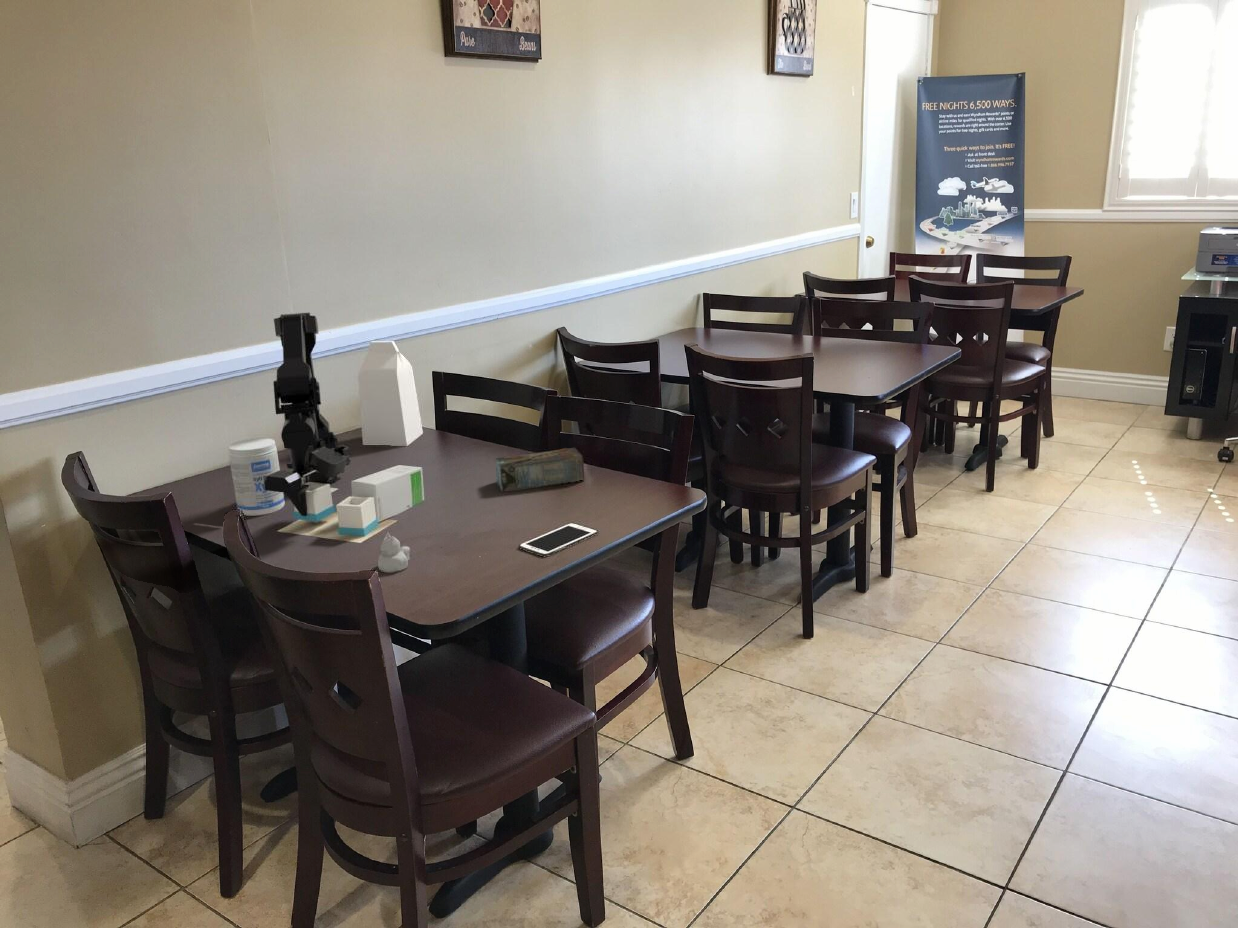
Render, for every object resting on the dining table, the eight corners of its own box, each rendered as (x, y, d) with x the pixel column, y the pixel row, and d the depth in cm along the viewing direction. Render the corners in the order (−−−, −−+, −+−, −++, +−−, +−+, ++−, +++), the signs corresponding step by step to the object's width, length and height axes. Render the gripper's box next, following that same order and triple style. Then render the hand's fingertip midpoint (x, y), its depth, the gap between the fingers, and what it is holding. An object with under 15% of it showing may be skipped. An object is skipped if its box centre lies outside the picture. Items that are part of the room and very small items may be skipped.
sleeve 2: (338, 534, 185) (334, 505, 183) (353, 523, 190) (349, 495, 188) (364, 536, 184) (361, 507, 182) (378, 525, 189) (375, 497, 187)
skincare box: (425, 503, 203) (379, 525, 189) (399, 500, 205) (352, 521, 192) (422, 465, 201) (375, 484, 187) (396, 462, 203) (348, 481, 190)
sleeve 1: (294, 518, 190) (289, 490, 188) (313, 509, 195) (308, 481, 193) (316, 521, 188) (312, 493, 186) (335, 511, 193) (331, 483, 191)
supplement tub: (266, 519, 198) (255, 451, 193) (228, 516, 200) (216, 449, 196) (294, 503, 206) (284, 438, 202) (258, 500, 209) (247, 436, 205)
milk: (363, 445, 247) (350, 346, 239) (380, 433, 258) (369, 337, 249) (407, 446, 245) (395, 345, 237) (423, 433, 256) (412, 337, 247)
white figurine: (371, 574, 169) (366, 532, 167) (400, 561, 174) (395, 520, 171) (391, 581, 166) (386, 538, 163) (420, 568, 171) (415, 526, 168)
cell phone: (600, 535, 183) (600, 530, 183) (545, 559, 173) (544, 554, 173) (572, 526, 188) (572, 521, 188) (516, 549, 178) (516, 545, 178)
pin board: (277, 535, 188) (274, 512, 187) (318, 514, 199) (314, 492, 197) (360, 547, 181) (357, 523, 179) (398, 525, 191) (395, 501, 190)
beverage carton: (495, 482, 215) (493, 454, 213) (578, 472, 220) (576, 444, 218) (501, 493, 208) (499, 464, 206) (586, 482, 213) (585, 454, 211)
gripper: (303, 453, 175) (315, 532, 180) (366, 426, 191) (375, 499, 196) (256, 448, 179) (268, 525, 184) (321, 422, 195) (331, 494, 200)
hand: (313, 510), depth 191 cm, fingers closed on sleeve 1, 5 cm apart
